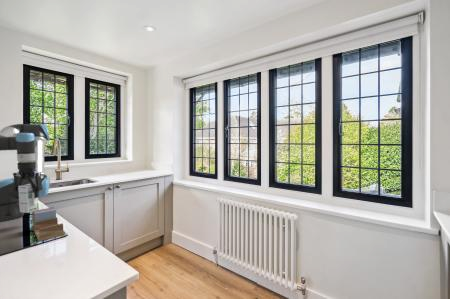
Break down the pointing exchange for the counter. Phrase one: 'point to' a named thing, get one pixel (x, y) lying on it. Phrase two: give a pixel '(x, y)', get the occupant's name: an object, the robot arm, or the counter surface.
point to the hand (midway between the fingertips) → (28, 203)
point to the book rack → (46, 224)
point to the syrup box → (26, 199)
